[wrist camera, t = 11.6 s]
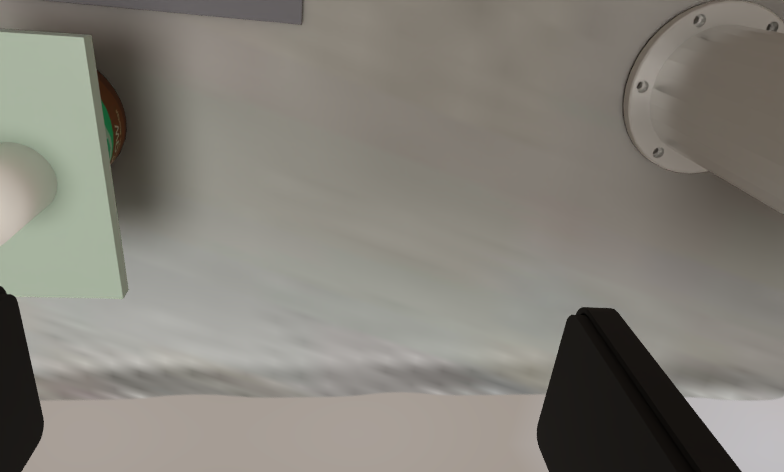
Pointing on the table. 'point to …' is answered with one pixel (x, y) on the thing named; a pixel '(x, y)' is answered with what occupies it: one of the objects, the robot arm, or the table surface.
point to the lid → (55, 172)
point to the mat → (214, 8)
